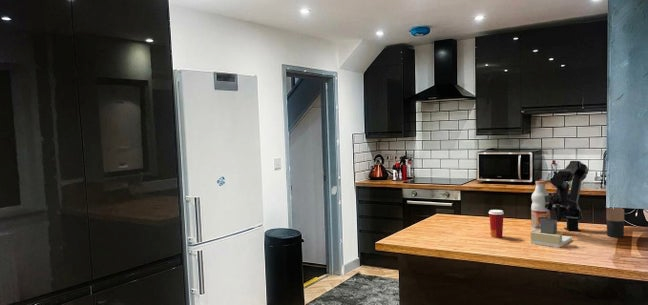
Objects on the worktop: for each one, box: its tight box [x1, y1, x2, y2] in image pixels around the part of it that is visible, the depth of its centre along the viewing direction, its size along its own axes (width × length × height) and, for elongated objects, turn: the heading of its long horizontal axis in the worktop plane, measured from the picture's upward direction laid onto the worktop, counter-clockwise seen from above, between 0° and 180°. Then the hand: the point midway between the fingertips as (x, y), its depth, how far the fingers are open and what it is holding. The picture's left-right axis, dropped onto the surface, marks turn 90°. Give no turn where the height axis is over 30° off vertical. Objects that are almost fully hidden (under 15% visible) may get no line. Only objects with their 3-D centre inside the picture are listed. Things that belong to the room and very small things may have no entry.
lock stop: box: [540, 218, 558, 234], centre depth 217 cm, size 5×6×10 cm
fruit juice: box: [530, 180, 551, 232], centre depth 241 cm, size 9×9×28 cm
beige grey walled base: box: [530, 230, 573, 248], centre depth 220 cm, size 20×13×6 cm, turn 134°
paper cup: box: [488, 209, 505, 239], centre depth 233 cm, size 8×8×14 cm
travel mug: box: [606, 207, 625, 239], centre depth 225 cm, size 8×8×20 cm
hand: (558, 221), depth 226 cm, fingers closed
